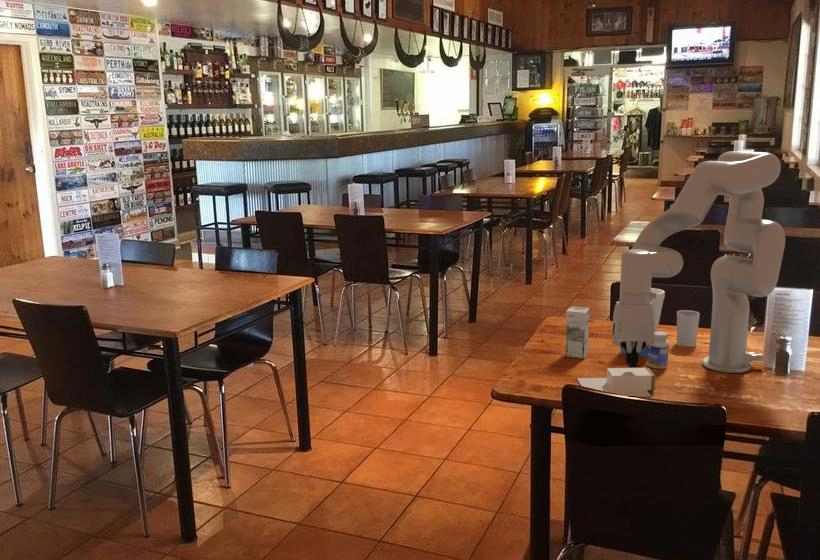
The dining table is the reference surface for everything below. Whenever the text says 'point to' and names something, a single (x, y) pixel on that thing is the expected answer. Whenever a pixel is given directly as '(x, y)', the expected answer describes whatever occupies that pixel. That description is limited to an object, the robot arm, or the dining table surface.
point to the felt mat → (603, 386)
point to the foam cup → (657, 305)
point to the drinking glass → (687, 328)
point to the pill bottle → (659, 351)
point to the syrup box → (577, 332)
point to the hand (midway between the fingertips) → (631, 365)
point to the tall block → (630, 379)
